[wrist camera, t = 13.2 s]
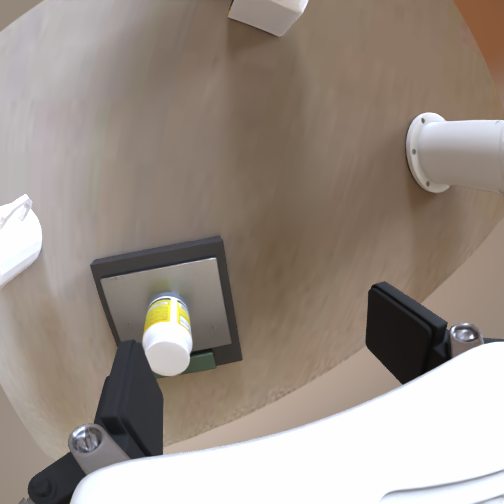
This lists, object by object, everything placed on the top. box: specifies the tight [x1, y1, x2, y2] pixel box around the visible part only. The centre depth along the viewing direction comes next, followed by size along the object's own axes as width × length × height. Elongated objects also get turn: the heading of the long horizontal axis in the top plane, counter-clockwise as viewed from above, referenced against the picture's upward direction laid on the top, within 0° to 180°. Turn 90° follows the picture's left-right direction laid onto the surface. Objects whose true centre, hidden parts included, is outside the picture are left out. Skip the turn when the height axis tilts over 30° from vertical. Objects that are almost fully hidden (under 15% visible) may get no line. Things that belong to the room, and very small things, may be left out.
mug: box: [0, 194, 42, 289], centre depth 22 cm, size 8×12×10 cm
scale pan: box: [100, 256, 232, 352], centre depth 31 cm, size 13×11×1 cm
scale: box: [90, 236, 242, 378], centre depth 32 cm, size 15×16×3 cm
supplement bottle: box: [142, 296, 192, 376], centre depth 27 cm, size 5×5×8 cm
